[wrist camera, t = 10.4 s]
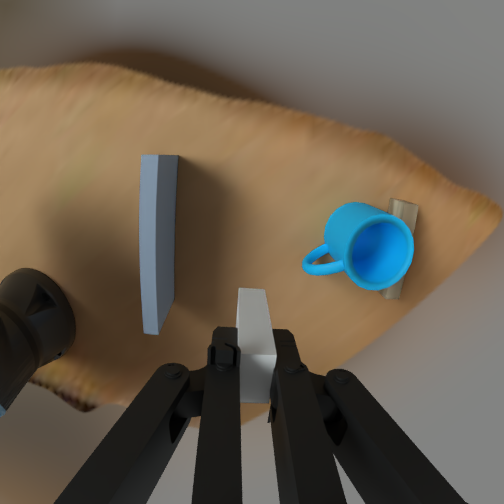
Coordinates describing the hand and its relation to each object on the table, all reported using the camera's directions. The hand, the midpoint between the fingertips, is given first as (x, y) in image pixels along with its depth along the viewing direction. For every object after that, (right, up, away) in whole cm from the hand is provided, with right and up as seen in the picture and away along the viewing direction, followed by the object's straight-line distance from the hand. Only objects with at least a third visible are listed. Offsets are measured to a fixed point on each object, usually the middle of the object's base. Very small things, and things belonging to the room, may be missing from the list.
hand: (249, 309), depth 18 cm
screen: (-10, +6, +19) cm, 22 cm away
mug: (+11, +5, +20) cm, 23 cm away
